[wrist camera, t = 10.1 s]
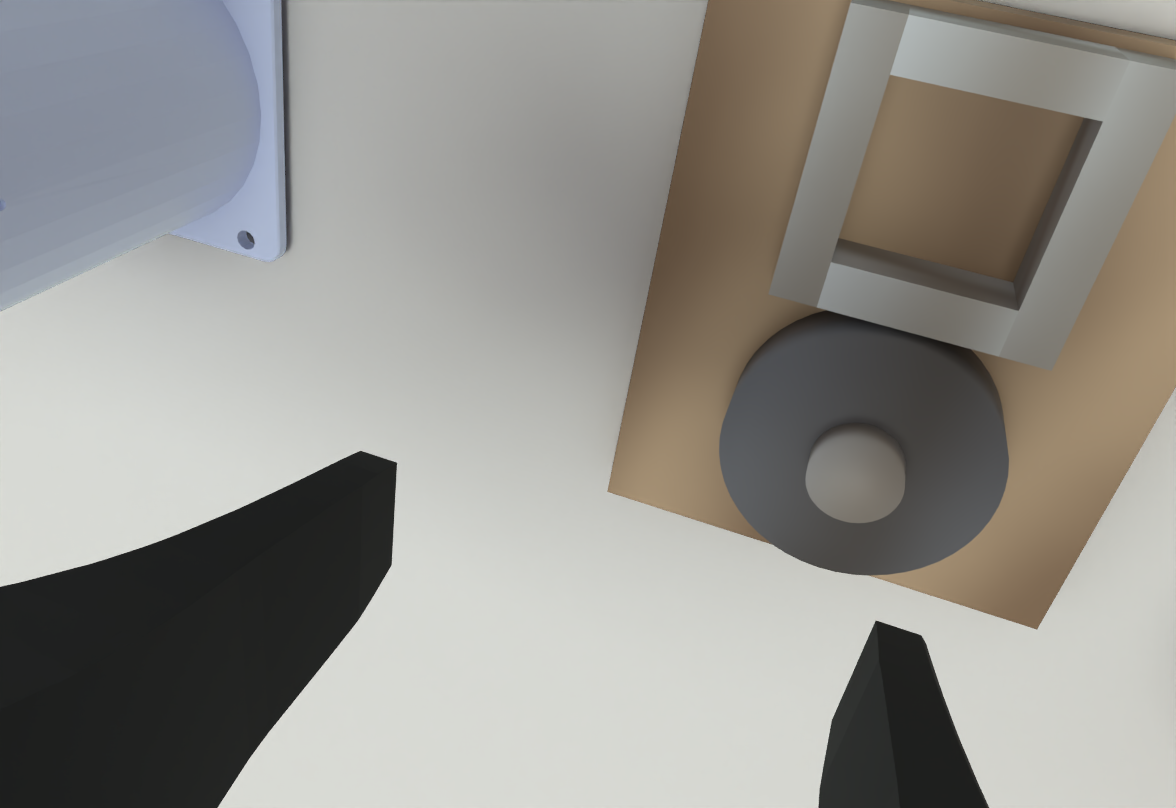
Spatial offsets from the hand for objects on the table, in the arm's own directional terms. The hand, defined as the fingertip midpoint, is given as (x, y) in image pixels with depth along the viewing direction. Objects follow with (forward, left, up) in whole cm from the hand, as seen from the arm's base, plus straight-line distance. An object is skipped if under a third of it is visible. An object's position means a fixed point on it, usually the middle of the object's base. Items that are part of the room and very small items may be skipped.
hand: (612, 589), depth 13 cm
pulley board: (+4, +1, -10) cm, 11 cm away
